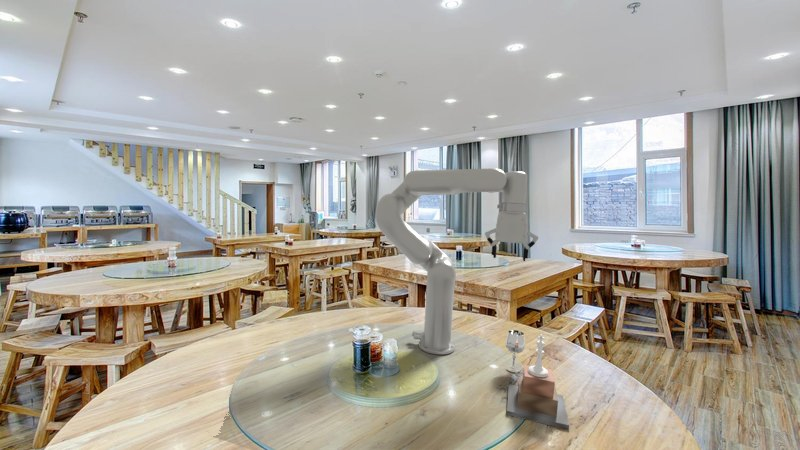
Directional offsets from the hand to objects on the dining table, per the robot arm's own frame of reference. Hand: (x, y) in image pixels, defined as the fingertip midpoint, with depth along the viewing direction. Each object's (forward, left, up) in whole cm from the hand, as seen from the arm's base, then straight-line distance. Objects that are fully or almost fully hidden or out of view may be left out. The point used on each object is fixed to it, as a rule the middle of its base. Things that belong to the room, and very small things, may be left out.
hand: (509, 258), depth 121 cm
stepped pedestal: (+10, -30, -33) cm, 46 cm away
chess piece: (+10, -30, -24) cm, 40 cm away
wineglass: (+4, -11, -34) cm, 35 cm away
